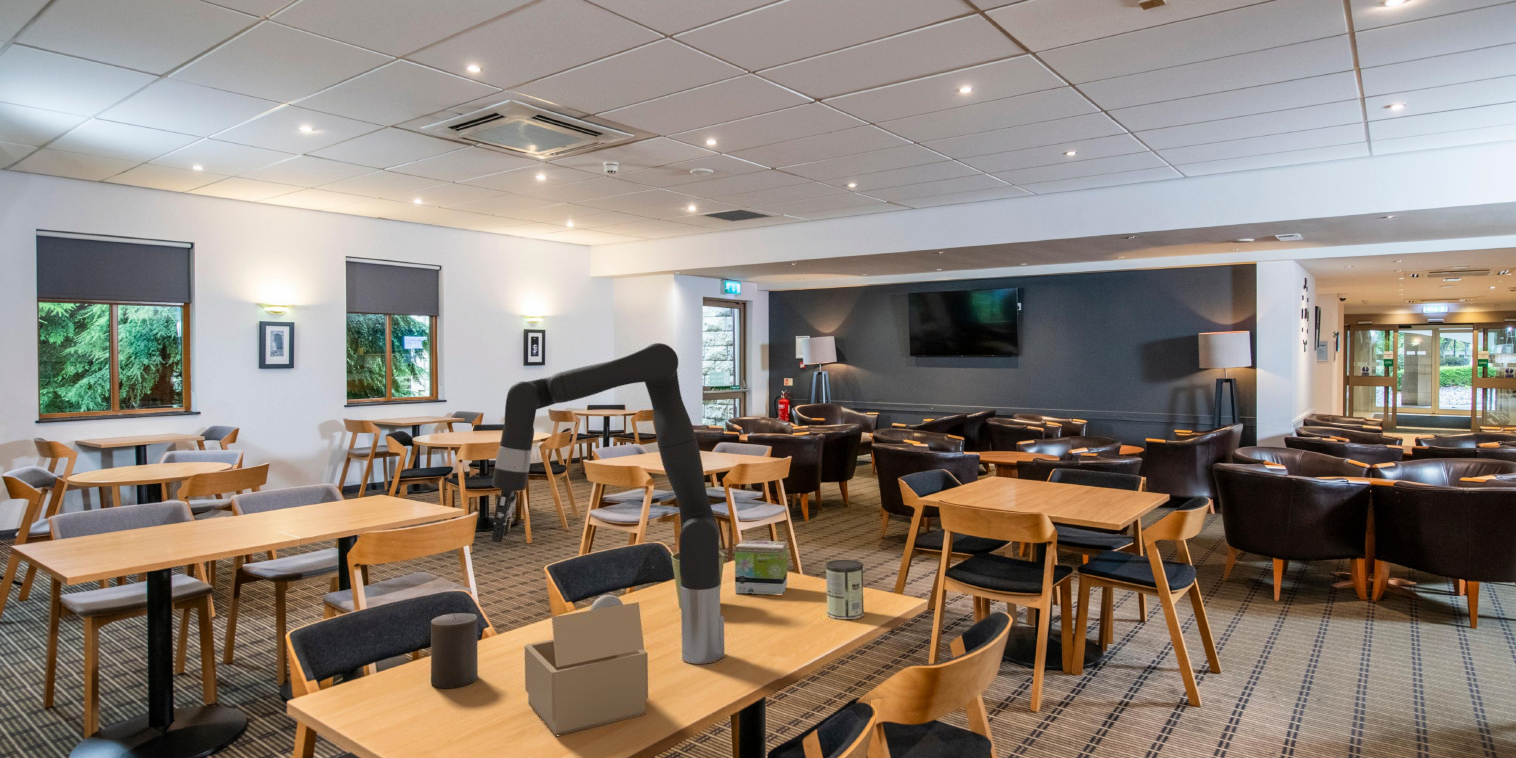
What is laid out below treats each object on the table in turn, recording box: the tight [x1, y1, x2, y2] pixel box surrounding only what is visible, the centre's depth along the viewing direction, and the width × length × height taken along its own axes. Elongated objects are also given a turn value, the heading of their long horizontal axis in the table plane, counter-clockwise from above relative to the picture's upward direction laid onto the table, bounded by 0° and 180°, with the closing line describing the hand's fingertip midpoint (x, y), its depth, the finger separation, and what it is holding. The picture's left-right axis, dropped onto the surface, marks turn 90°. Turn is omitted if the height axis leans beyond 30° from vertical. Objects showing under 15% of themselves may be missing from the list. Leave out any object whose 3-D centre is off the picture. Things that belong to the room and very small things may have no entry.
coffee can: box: [825, 559, 865, 620], centre depth 222 cm, size 10×10×14 cm
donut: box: [589, 594, 624, 611], centre depth 209 cm, size 10×3×10 cm, turn 129°
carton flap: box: [551, 601, 645, 667], centre depth 154 cm, size 17×9×1 cm
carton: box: [524, 638, 649, 737], centre depth 161 cm, size 19×19×12 cm
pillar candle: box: [430, 612, 479, 689], centre depth 178 cm, size 10×10×15 cm
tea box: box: [734, 539, 788, 595], centre depth 248 cm, size 15×10×15 cm, turn 80°
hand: (499, 538), depth 183 cm, fingers open, 8 cm apart
